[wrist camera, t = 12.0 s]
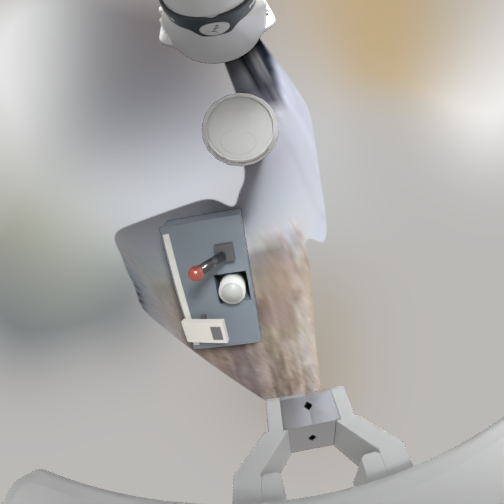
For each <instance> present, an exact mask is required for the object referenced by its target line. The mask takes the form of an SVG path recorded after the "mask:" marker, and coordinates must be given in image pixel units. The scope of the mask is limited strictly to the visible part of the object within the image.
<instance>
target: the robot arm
mask: <svg viewBox="0 0 504 504" xmlns="http://www.w3.org/2000/svg"><path fill="white" fill-rule="evenodd" d="M159 1H160V4H161V7H159V13H160V14H162V18H161V19H160V24H161V30H160V38H159V39H160V41H161V43H162V44H163V45H166V46H170V47H174V48H176V49H178V50H179V51H180V52H181V53H182V54H184V55H185V56H186V57H188V58H190V59H192V60H194V61H198V62H202V63H210V64H214V63H215V64H216V63H224V62H228V61H232V60H235V59H237V58H239V57H241V56H243V55H244V54H246V53H247V52H249V51H250V50H251V49H252V48H253V47H254V46H255V45H256V43H257V42H258V40H259V38H260V37H261V35H262V34H263V33H264V32H265V31H267V30H268V29H270V28H271V27H272V26H273V25H274V24H275V17H274V15H273V13H272V11H271V9H270V7H269V5H268V3H267V1H266V0H159ZM266 14H267V15H268V16H266ZM266 411H267V423H268V432H266V433H264V434H263V435H262V437H261V439H260V440H259V441H258V443H257V444H256V446H255V447H254V448H253V450H252V451H251V452H250V454H249V455H248V456H247V458H246V459H245V460H244V462H243V463H242V464H241V466H240V467H239V468H238V470H237V471H236V472H235V473H234V475H233V504H504V417H503V418H501V419H500V420H499V421H497V422H496V423H494V424H492V425H491V426H489V428H486V429H485V430H483V431H482V432H480V433H478V434H477V435H475V436H473V437H472V438H470V439H468V440H467V441H465V442H463V443H461V444H460V445H458V446H456V447H454V448H453V449H450V450H448V451H446V452H444V453H442V454H440V455H438V456H436V457H434V458H432V459H430V460H428V461H425V462H423V463H421V464H418V465H416V466H414V467H413V464H412V462H411V460H410V457H409V455H408V453H407V450H406V448H405V446H404V444H403V442H402V441H401V440H399V439H397V438H396V437H394V436H392V435H391V434H389V433H387V432H385V431H384V430H382V429H380V428H379V427H377V426H376V425H374V424H372V423H371V422H369V421H367V420H366V419H364V418H362V417H361V416H359V415H356V416H355V415H354V412H353V410H352V407H351V404H350V402H349V399H348V396H347V394H346V391H345V389H344V387H343V386H339V387H334V388H330V389H324V390H319V391H315V392H310V393H305V394H301V395H294V396H287V397H280V399H279V398H272V399H266ZM330 445H334V446H335V447H336V448H337V449H339V451H341V452H342V453H343V454H344V455H345V456H347V457H348V458H349V459H350V460H351V461H352V462H354V463H355V464H356V465H357V466H358V467H359V468H358V471H357V474H356V477H355V479H354V482H353V483H354V487H352V488H348V489H344V490H340V491H336V492H331V493H327V494H322V495H317V496H311V497H306V498H299V499H292V500H286V494H285V490H284V486H283V480H282V476H281V472H282V470H283V468H284V466H285V465H286V463H287V461H288V459H289V457H290V455H291V453H293V452H298V451H304V450H309V449H314V448H320V447H325V446H330ZM2 504H194V503H182V502H171V501H163V500H155V499H148V498H142V497H136V496H131V495H126V494H121V493H117V492H112V491H108V490H104V489H100V488H97V487H93V486H90V485H86V484H83V483H80V482H77V481H74V480H71V479H68V478H65V477H62V476H59V475H57V474H54V473H52V472H49V471H46V470H43V469H38V470H35V471H33V472H31V473H29V474H27V475H25V476H23V477H22V478H20V479H18V480H17V481H16V482H14V484H13V485H12V487H11V488H10V489H9V491H8V493H7V495H6V497H5V499H4V501H3V503H2ZM195 504H196V503H195Z"/></svg>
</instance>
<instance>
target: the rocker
mask: <svg viewBox="0 0 504 504" xmlns="http://www.w3.org/2000/svg"><path fill="white" fill-rule="evenodd" d="M181 323H182V326H183V329H184V332H185V335H186V338H187V341H188V342H201V343H228V341H229V337H228V333H227V329H226V325H225V321H224V319H183V320H182V322H181Z"/></svg>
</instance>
